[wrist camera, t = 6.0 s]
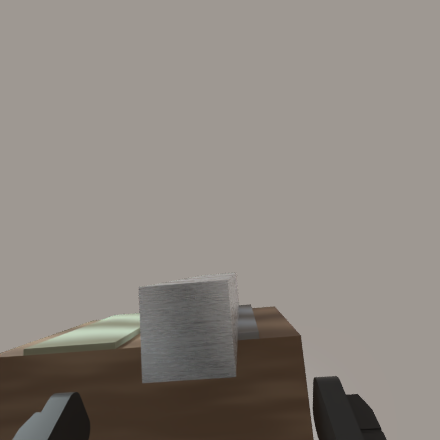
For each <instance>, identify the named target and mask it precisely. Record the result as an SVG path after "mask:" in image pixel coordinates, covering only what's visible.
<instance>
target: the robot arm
mask: <svg viewBox="0 0 440 440" xmlns="http://www.w3.org/2000/svg"><path fill="white" fill-rule="evenodd" d="M313 415H314V422H315V427H316V431H317V435H318V438H319V440H386V437H385V435H384V433H383V432H382V431H381V427H380V425H379V423H378V421H377V419H376V417H375V414H374V412H373V410H372V409H371V408H370V407H369V406H368V404H366V402H365V401H364V400H363V399H362V398H361V397H360V396H359V395H358V394H352V395H346V394H345V392H344V390H343V387H342V384H341V382H340V380H339V378H338V377H337V376H332V377H315V378H314V382H313ZM89 435H90V420H89V418H88V415H87V412H86V410H85V407H84V404H83V402H82V399H81V396H80V394H79V393H78V392H68V393H55V394H53V395H52V396H51V397H50V398H49V400H48V401H47V403H46V405H45V406H44V408H43V410H42V411H41V412H36V413H34V414H33V416H32V417H31V418H30V419H29V420H28V421H27V422H26V423H25V424H24V425H23V426H22V427H21V428H20V429H19V430H18V432H17V433H16V435H15V436H14V438H13V440H88V439H89Z"/></svg>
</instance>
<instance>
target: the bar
mask: <svg viewBox="0 0 440 440" xmlns="http://www.w3.org/2000/svg"><path fill="white" fill-rule="evenodd" d="M139 308H140V309H139V310H140V337H141V364H142V383H154V382H169V381H185V380H200V379H215V378H231V377H236V367H237V343H238V319H239V298H238V289H237V277H236V273H225V274H213V275H204V276H198V277H192V278H187V279H181V280H176V281H170V282H165V283H160V284H154V285H149V286H143V287H139Z"/></svg>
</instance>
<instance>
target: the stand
mask: <svg viewBox="0 0 440 440" xmlns="http://www.w3.org/2000/svg"><path fill="white" fill-rule="evenodd" d="M68 392H78V393H79V394H80V396H81V399H82V402H83V404H84V407H85V410H86V412H87V415H88V418H89V420H90V435H89V439H88V440H313V432H312V423H311V416H310V408H309V399H308V391H307V382H306V374H305V366H304V358H303V350H302V342H301V335H300V334H299V333H298V332H297V331H296V330H295V329H294V328H293V326H292V325H291V324H290V323H289V322H288V321H287V320H286V319H285V318H284V316H283V315H282V314H281V313H280V312H279V311H278V310H277V309H276V308H275V307H263V308H252V307H251V305H241V306H240V305H239V319H238V343H237V367H236V377H231V378H215V379H200V380H185V381H169V382H154V383H142V364H141V337H140V313H136V314H123V315H114V316H112V317H109V318H106V319H103V320H96V321H90V322H88V323H85V324H82V325H79V326H76V327H74V328H71V329H68V330H65V331H62V332H59V333H56V334H53V335H51V336H48V337H45V338H42V339H39V340H37V341H34V342H31V343H28V344H25V345H22V346H19V347H17V348H14V349H11V350H8V351H5V352H2V353H0V440H13V438H14V436H15V435H16V433H17V432H18V430H19V429H20V428H21V427H22V426H23V425H24V424H25V423H26V422H27V421H28V420H29V419H30V418H31V417H32V416H33V414H34V413H36V412H41V411H42V410H43V408H44V406H45V405H46V403H47V401H48V400H49V398H50V397H51V396H52V395H53V394H55V393H68Z"/></svg>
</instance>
